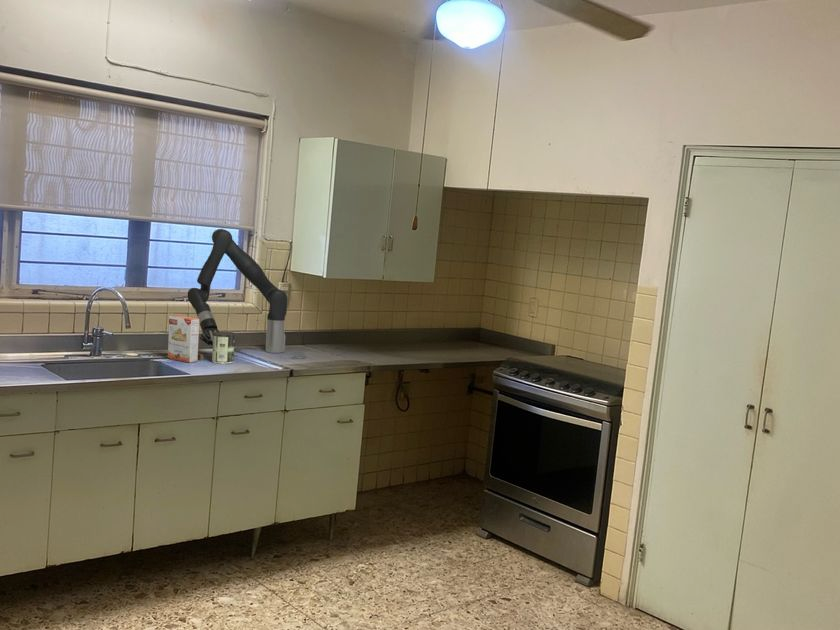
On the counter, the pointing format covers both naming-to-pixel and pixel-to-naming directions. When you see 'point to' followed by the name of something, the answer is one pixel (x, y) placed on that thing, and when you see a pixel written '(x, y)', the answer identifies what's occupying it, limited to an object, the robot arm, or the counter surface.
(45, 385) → the counter surface
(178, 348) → the cracker box
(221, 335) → the coffee can
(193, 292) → the robot arm
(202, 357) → the chute
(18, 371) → the counter surface
